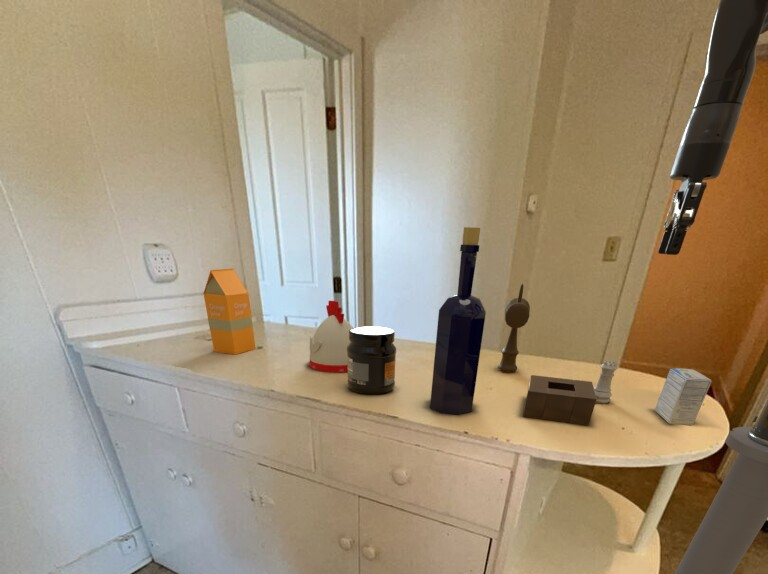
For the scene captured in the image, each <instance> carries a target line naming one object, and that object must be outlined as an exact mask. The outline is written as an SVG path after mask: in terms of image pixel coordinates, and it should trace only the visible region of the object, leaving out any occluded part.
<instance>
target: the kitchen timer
mask: <svg viewBox="0 0 768 574" xmlns="http://www.w3.org/2000/svg"><path fill="white" fill-rule="evenodd" d="M339 304H340V303H339V301H338V300H337V301H336V300H328V304H327V305H325V307H326V312H327V317H326V318H325V319H323V320H322V321H321V323H319V326H318V327H317V328H316V331H315V333H314V335H313V336H310V338H309V367H310V368H311V369H313V370H316V371H320V372H325V373H348V361H347V346H348V345H349V343H350V340H349V330H350V329H352V328H354V327H353V326H352V324H351V323H350V322H349V321H348V320H347V319H346V318H345V313H342V307H340V306H339Z"/></svg>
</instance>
